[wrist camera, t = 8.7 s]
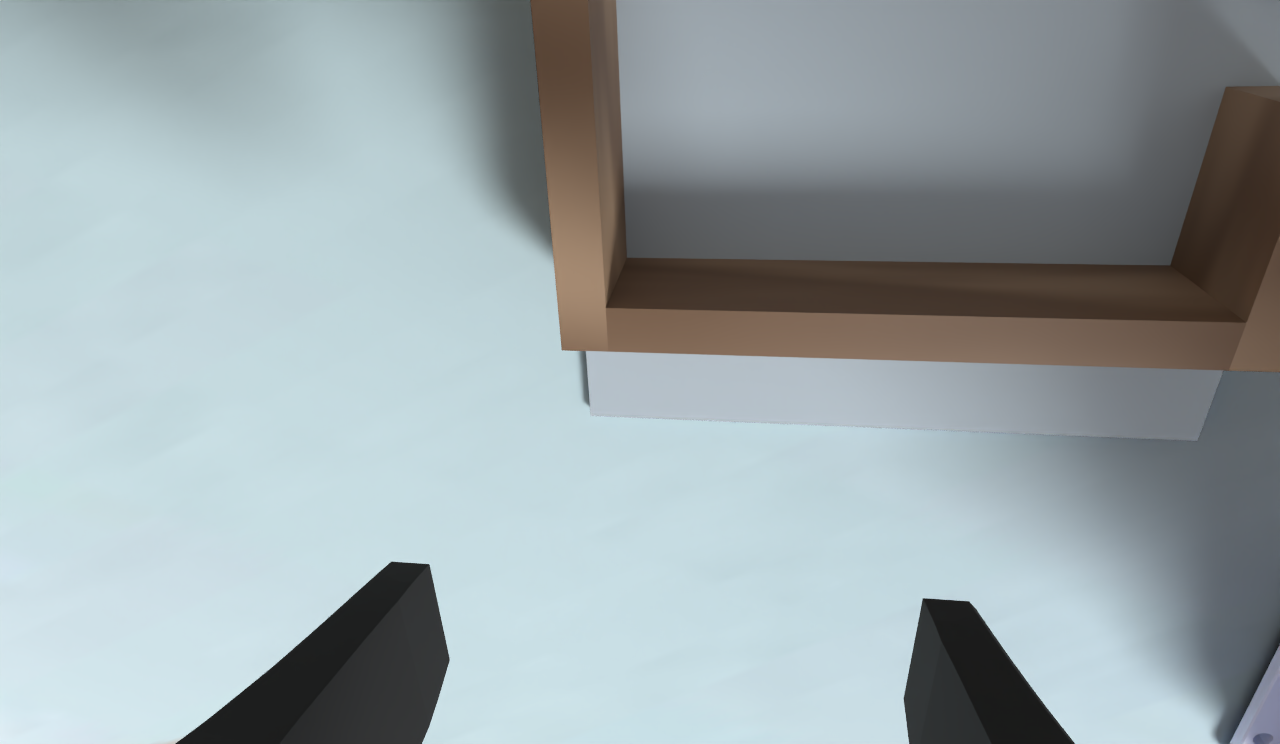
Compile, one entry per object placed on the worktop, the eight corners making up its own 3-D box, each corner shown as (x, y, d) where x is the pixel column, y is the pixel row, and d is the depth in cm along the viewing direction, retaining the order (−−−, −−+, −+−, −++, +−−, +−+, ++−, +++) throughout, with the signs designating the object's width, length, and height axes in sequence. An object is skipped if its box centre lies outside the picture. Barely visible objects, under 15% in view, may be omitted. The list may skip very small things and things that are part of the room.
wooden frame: (1205, 308, 17) (1286, 372, 15) (588, 295, 19) (561, 350, 16) (1429, -344, 12) (1618, -427, 9) (549, -275, 14) (501, -329, 11)
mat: (1191, 434, 19) (1197, 441, 19) (592, 409, 21) (590, 415, 21) (1599, -684, 10) (1620, -701, 10) (524, -548, 12) (519, -559, 12)
